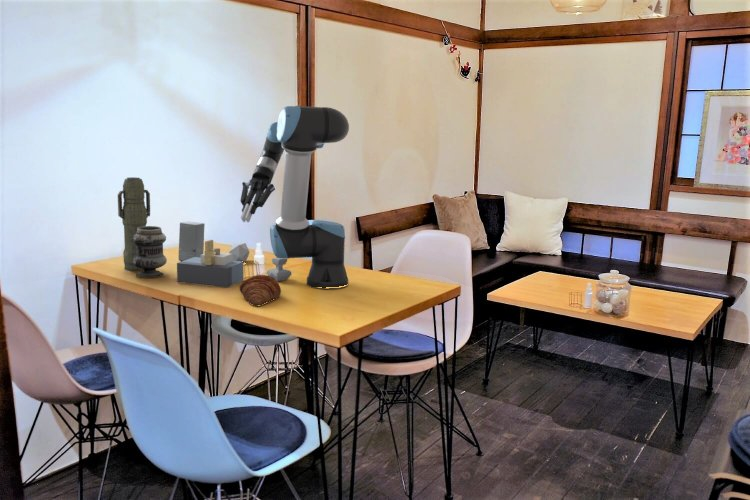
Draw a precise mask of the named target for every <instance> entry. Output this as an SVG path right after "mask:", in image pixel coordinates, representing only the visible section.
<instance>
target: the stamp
mask: <svg viewBox="0 0 750 500" xmlns="http://www.w3.org/2000/svg"><path fill="white" fill-rule="evenodd" d="M271 262H272V264H273V265H275V268H270V269H268V270H266V275H267V276H271V277H272V278H274V279H275V280H276V282H284V281H287V280H288V279H289V278H290V277H291V276H292V271H291V270H289V269H286V268H284V267H283V266H285V265H286V264H287V262H288V259H287V258H277V257H272V258H271Z"/></svg>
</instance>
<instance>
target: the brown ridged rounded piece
mask: <svg viewBox="0 0 750 500" xmlns="http://www.w3.org/2000/svg"><path fill="white" fill-rule="evenodd" d="M238 290H239V292H240V293H241V294H242V296H243V299H244V300H245V299H246V300H245V301H247V302H248V301H249V304H250V303H251V304H253V305H262V304H264V303H266V302H269V301H270V302H272V301H271V300H273V299H276V298H278V297H279V298H280V296H281V294H282V288H281V285H280V284H279V283H278V281H276V280H275V279H274V278H272V277H271V276H268V274H258V275H257V274H256V275H253V276H251V277H248V278H246V279H245V280H243V281H241V283H240V285H239V289H238ZM279 298H278V299H279ZM276 300H277V299H276ZM273 301H274V300H273ZM270 302H269V303H270ZM251 304H250V305H251ZM253 305H252V306H253ZM264 305H265V304H264Z"/></svg>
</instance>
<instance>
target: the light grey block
mask: <svg viewBox="0 0 750 500" xmlns="http://www.w3.org/2000/svg"><path fill="white" fill-rule="evenodd" d="M213 250H214V252H216V254H215V255H214V264H215V265H225V264H228V263H231V262H233V254H232V253H229V252H221V248H219V247H215V248H214V247H213ZM201 263H205V253H203V254H202V255H201Z"/></svg>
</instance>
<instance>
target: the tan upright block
mask: <svg viewBox="0 0 750 500" xmlns="http://www.w3.org/2000/svg"><path fill="white" fill-rule="evenodd" d="M213 249H214V240H213V239H209V240H204V254H205V265H213V264H214V255H215V254H216V252H214V250H213Z"/></svg>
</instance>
